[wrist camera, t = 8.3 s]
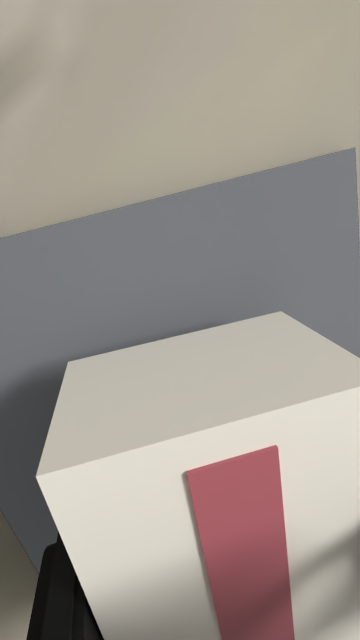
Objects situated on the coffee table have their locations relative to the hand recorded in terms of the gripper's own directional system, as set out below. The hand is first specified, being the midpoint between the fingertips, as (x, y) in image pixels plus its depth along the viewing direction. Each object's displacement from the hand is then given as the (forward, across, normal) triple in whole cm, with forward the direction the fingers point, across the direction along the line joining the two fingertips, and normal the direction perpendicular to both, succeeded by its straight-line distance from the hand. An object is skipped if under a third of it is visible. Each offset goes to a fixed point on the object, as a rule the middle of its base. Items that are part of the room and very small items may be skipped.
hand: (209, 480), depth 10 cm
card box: (+1, 0, 0) cm, 1 cm away
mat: (+3, 0, 0) cm, 3 cm away
